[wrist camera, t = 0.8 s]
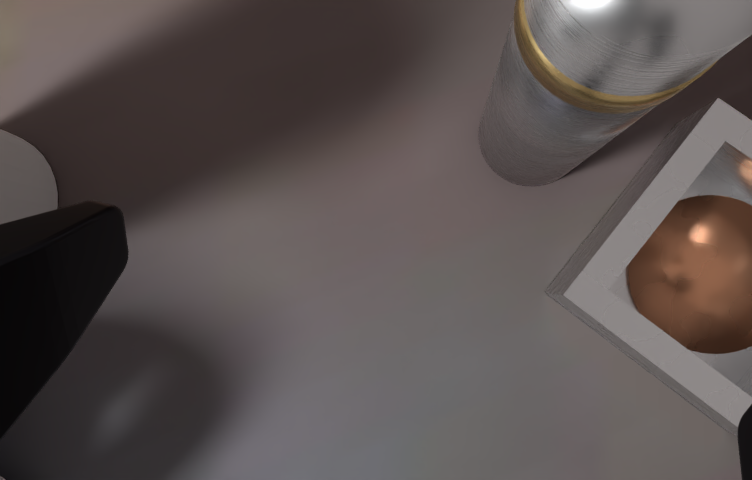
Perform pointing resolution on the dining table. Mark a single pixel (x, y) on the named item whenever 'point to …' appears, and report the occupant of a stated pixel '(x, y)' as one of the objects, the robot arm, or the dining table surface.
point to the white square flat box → (679, 265)
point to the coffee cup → (24, 180)
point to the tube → (594, 75)
